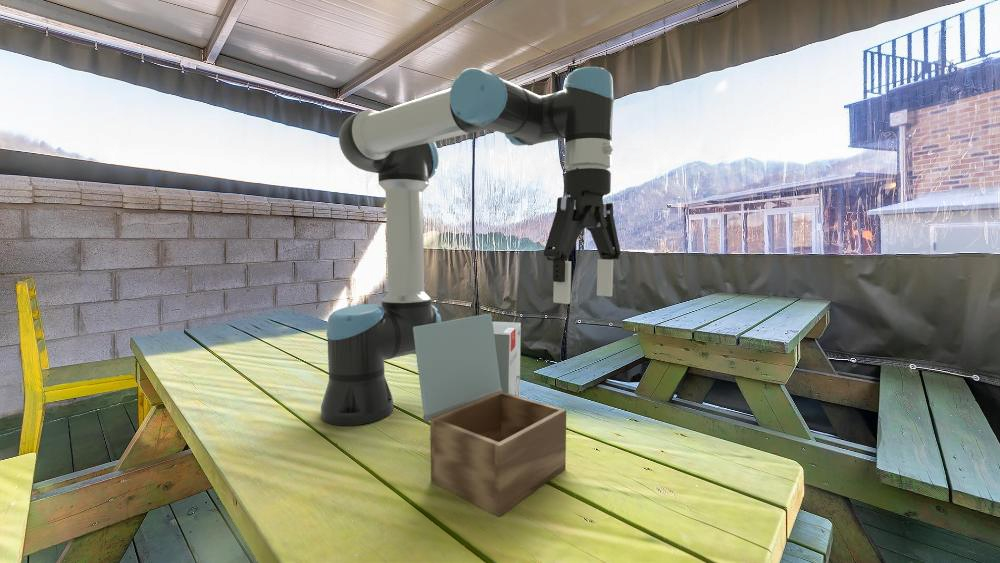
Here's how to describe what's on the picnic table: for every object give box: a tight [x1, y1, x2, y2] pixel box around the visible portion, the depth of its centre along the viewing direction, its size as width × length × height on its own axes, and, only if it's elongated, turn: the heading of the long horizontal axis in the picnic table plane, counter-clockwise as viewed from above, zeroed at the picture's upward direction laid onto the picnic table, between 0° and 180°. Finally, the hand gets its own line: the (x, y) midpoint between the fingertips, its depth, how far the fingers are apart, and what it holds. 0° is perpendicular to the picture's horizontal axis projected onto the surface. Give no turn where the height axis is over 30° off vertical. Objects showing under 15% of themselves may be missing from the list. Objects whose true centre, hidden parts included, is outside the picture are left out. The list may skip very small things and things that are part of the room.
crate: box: [429, 392, 567, 518], centre depth 70 cm, size 14×17×10 cm
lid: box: [413, 313, 502, 423], centre depth 74 cm, size 15×18×1 cm
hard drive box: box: [492, 321, 522, 397], centre depth 92 cm, size 16×8×20 cm, turn 168°
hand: (584, 299), depth 73 cm, fingers open, 13 cm apart
